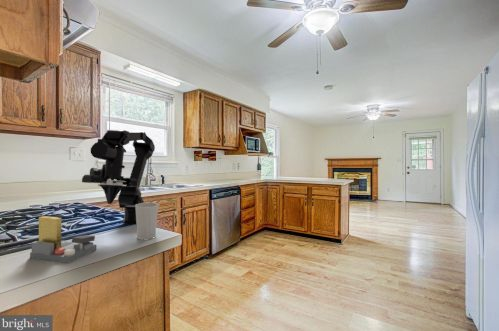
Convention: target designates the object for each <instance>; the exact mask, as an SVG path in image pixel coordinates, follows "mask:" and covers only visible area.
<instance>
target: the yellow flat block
mask: <svg viewBox="0 0 499 331" xmlns="http://www.w3.org/2000/svg"><path fill="white" fill-rule="evenodd" d="M38 241H41V242H49V243H54V251H55V249H57V248H61V241H62V217H57V216H48V215H45V216H44V215H43V216H39V217H38Z"/></svg>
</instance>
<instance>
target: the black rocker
mask: <svg viewBox="0 0 499 331" xmlns="http://www.w3.org/2000/svg"><path fill="white" fill-rule="evenodd" d="M95 239H96V237H95V235H90V234H89V235H88V234H86V235H85V234H84V235H80V236H79V235H78V236H73V237H72V239H71V242H73V243H86V242H94V241H95Z"/></svg>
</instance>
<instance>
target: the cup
mask: <svg viewBox="0 0 499 331" xmlns="http://www.w3.org/2000/svg"><path fill="white" fill-rule="evenodd" d="M159 207H160V204H159V203H157V202H144V203H139V204H136V205H135V209H136V222H135V223H136V239H137V240H139V239H140V240H141V241H144V240H143V239H150V238H153V237H155V236H157V234H156V232H157V224H158V214H159ZM155 238H156V237H155ZM153 239H154V238H153ZM150 240H151V239H150Z"/></svg>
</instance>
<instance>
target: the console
mask: <svg viewBox="0 0 499 331" xmlns="http://www.w3.org/2000/svg"><path fill="white" fill-rule="evenodd" d="M95 250H97V244H94V241H90V242H86V243H73V242H72V240H71V241H69V240H61V248H57V249H55V251H54V243H49V242H41V241H39V240H35V241H32V242H31V252H30V253H29V259H35V260H42V261H45V260H46V261H50V262H51V261H52V262H57V263H58V262H59V263H65V264H70V263H71V262H73V261H75V260H77V259H79V258H81V257H84V256H85V255H87V254H89V253H91V252H94V251H95Z"/></svg>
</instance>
